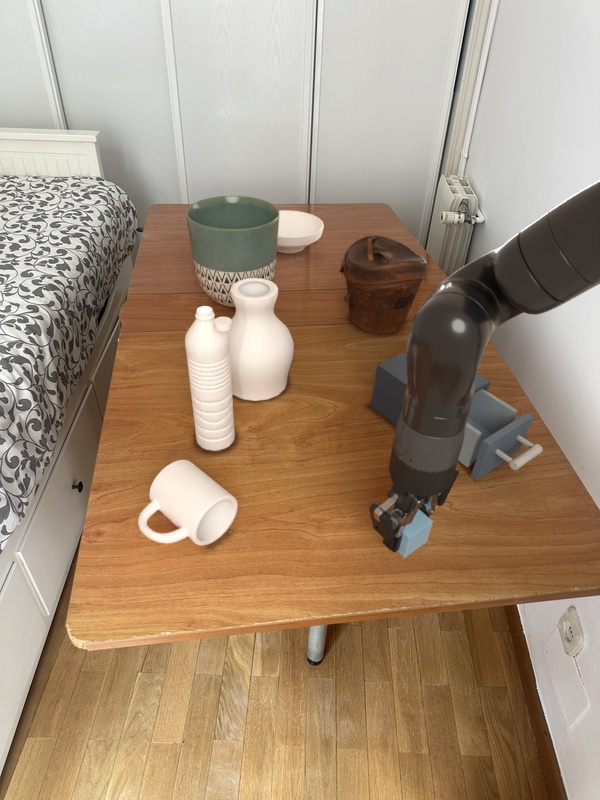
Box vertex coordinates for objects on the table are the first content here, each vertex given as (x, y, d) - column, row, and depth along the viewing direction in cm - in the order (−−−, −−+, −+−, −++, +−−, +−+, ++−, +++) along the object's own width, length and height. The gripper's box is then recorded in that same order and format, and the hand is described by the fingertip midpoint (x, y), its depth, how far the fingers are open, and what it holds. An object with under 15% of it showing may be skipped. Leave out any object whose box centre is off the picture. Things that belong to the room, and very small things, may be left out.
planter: (252, 275, 139) (250, 190, 125) (294, 308, 126) (297, 218, 113) (181, 293, 130) (171, 204, 117) (218, 331, 118) (211, 236, 104)
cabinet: (476, 423, 97) (490, 381, 91) (429, 452, 91) (440, 408, 85) (417, 382, 106) (426, 341, 100) (370, 406, 100) (377, 364, 93)
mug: (196, 486, 83) (191, 449, 78) (239, 522, 78) (237, 486, 73) (128, 532, 76) (118, 494, 71) (172, 575, 71) (164, 538, 66)
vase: (276, 412, 97) (277, 316, 85) (205, 393, 101) (196, 298, 88) (303, 369, 108) (307, 278, 95) (238, 353, 111) (234, 263, 98)
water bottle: (188, 437, 91) (171, 307, 76) (219, 420, 95) (209, 293, 79) (220, 465, 87) (209, 333, 71) (251, 446, 90) (247, 316, 74)
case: (358, 291, 134) (366, 220, 123) (431, 317, 126) (447, 243, 114) (318, 320, 123) (323, 245, 111) (396, 351, 114) (410, 273, 103)
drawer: (541, 466, 88) (558, 431, 83) (498, 497, 82) (513, 461, 77) (457, 408, 99) (467, 374, 94) (414, 432, 93) (422, 397, 88)
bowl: (252, 234, 159) (251, 210, 155) (317, 233, 161) (318, 210, 157) (255, 263, 144) (254, 237, 140) (326, 262, 146) (328, 236, 142)
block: (403, 520, 75) (408, 499, 72) (427, 541, 72) (433, 521, 69) (380, 535, 73) (384, 515, 70) (404, 558, 70) (409, 537, 67)
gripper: (406, 494, 56) (385, 586, 67) (492, 439, 63) (461, 530, 73) (357, 452, 60) (346, 544, 71) (443, 405, 67) (420, 496, 78)
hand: (404, 537), depth 72 cm, fingers closed on block, 4 cm apart
